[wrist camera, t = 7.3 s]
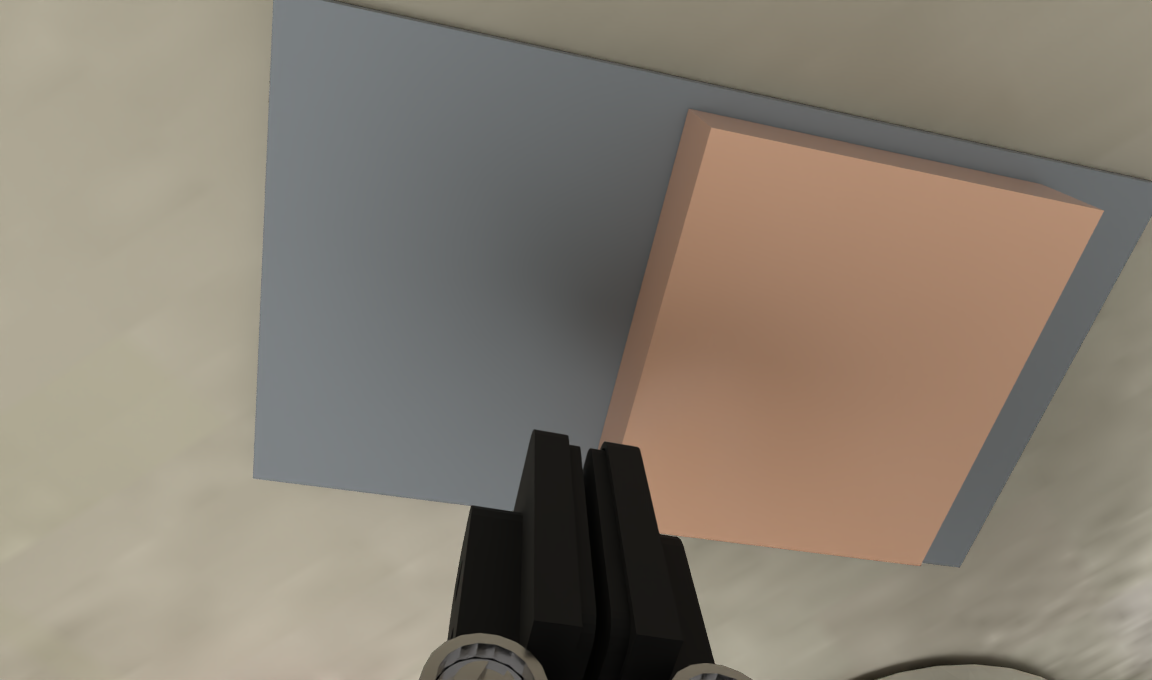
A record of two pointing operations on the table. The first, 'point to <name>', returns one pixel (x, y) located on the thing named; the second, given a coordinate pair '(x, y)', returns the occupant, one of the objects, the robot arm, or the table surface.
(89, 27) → the table surface
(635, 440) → the tile
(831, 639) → the table surface
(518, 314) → the mat
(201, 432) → the table surface
